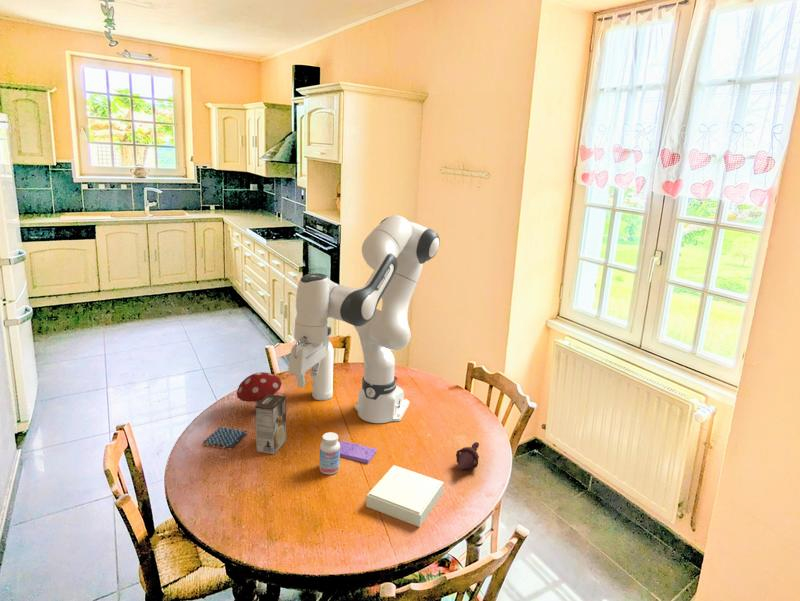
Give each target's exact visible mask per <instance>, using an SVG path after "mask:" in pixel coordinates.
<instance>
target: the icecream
mask: <svg viewBox="0 0 800 601" xmlns="http://www.w3.org/2000/svg"><path fill="white" fill-rule="evenodd" d="M479 446H480V443H479V442H476V441H475V442H473V443H472V444H471V447H470V446H466V447H463V448H461V449H459V450H457V451H456V454H455V457H456V462H457V470H458V471H459V470H468V471H472V470H475V469H476V468H477V467H478V465H479V458H480V456H479V453H478V452H477V450H478V448H479Z"/></svg>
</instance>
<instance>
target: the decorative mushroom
mask: <svg viewBox="0 0 800 601" xmlns="http://www.w3.org/2000/svg"><path fill="white" fill-rule="evenodd" d="M282 384H283V383H282V381H281V378H280V377H279V376H277V375H275V374H273V373H271V372H263V371H261V372H256V373H252V374H250V375H249V376H246V378H244V380H242V381H241V382H240V384H239V385H238V387H237V389H236V390H237V391H236V395H237V396H236V398H238V400H240V401H242V402H247V403H248V402H249V403H250V402H251V403H252V402H256V405H257V404H258V403H259V402H260V401H261V400H262V399H263V398H264V397H265V396H266V395H267V394H272V395H276V393H277V392H278V391H279V390H280V389H281V387H282ZM256 405H255V406H256Z"/></svg>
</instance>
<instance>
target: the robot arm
mask: <svg viewBox="0 0 800 601" xmlns="http://www.w3.org/2000/svg"><path fill="white" fill-rule="evenodd" d="M440 245H441V239H440V235H439V234H438V232H436V231H435V230H434V229H432V228H427V227H425V226H424V225H421V224H419V223H416V222H413V221H409V220H408V219H406V218H405V217H404V216H402V215H397V214H394V215H390V216H389V217H388V216H387V217H386V218H383V219H382V220H381V222H379V224H378V225H377V226H376V227H375V228H373V229H372V231H371V232H370V233H369V234H368V235H367V236H366V238H365V239H364V240H363V242H362V245H361V254H362V257H363V259H364V261H365V263H366V264H367V265H368V267H369V268H370V269H372V270H373V271H372V273H371V275H370V277H369V278H368V279H367V281H366V283H365V284H364V285H363V286H362V287H357V288H356V287H355V288H354V287H349V286H345V285H342V284H339V283H336V282H334V281H332V280H331V279H330V278H329V277H328V276H327V275H326V274H325V273H320V272H319V273H317V272H316V273H308V274H305V275H303V276H302V277H300V278H299V282H298V285H297V289H296V294H295V295H296V298H295V309H296V317H295V320H294V333H293V338H294V340H295V341H296V342H295V344H294V345H293V346H292V347H291V349H290V350H291V351H290V354H289V362H288V363H289V364H288V372H289V375H293V376H295V378H296V381H297V384H296V386H297V387H298V388H304V387H305V386H306V385H307V384H306V381H307V380H306V379H305V376H306V372H309V371H310V373H309V374H310V377H312V378H313V377H316V376H317V375H318V369H319V366H320V362H321V360H322V359H324V358H325V357H326V355H327V352H328V346H329V342H330V335H332V327H331V326H329V321H328V318H332V319H333V320H339V321H342V322H345V323H347V324H349V325H352V326H353V327H354V329H355V330H356V332H357V335H358V338H359V341H360V345H361V350H362V355H363V376H362V380H361V388H360V389H359V392H358V400H357V403H356V404H355V405H354V409H355V411H357V416H358V417H359V418H360V419H361V420H363V421H365V422H368V423H372V424H386V423H391V422H400V421H401V420H402V418H403V416H404V415H405V413H406V411H407V410H408V408H409V406H410V400H409V399H407V398H405V393H404V392H405V391H404V389H402V388H401V387H400V386H398V385H397V382H398V381H399V379H400V375H397V374H395V373H396V372H395V368H396V359H395V356H394V353H393V352H392V351H401V350H404V348H406V347H407V345H408V344H409V342H410V341H411V337H412V333H411V329H410V326H409V320H408V319H409V318H408V315H409V314H408V313H409V307H410V303H411V300H412V297H413V295H414V293H415V292H414V291H415V289H416V288H417V284H418V282H419V280H420V277H421V274H422V270H423V267H424V264H425V263H426V262H429V261H430V260H432V259H433V258H434V257H435V256H436V254H437V253H438V251H439V249H440ZM380 300H382V302H381V310H380V309H377V307H378V304H379V302H380ZM327 325H328V326H327ZM396 381H397V382H396Z"/></svg>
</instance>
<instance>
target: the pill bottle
mask: <svg viewBox="0 0 800 601" xmlns="http://www.w3.org/2000/svg"><path fill="white" fill-rule="evenodd" d="M321 437H322V438H321V439H322V440H321V443H320V444H319V471H320V472H321V473H322V474H325V475H333V474H336V473H338V472H339V470H340V468H341V466H340V463H341V462H340V461H341V456H340V442H339V435H338V434H337V433H336V432H331V431H329V432H325V433H324V434H323V435H322V436H321Z"/></svg>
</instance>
